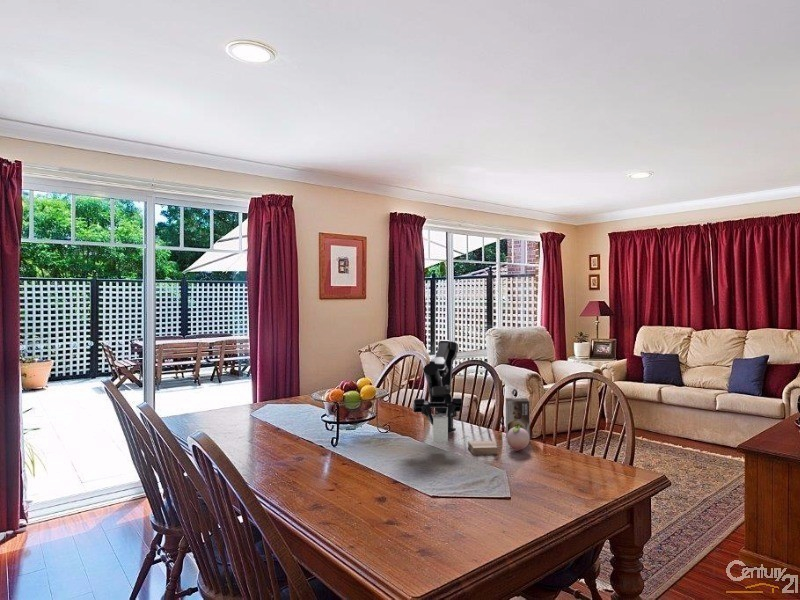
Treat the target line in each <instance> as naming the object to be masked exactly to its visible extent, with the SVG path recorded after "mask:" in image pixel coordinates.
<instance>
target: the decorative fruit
mask: <svg viewBox="0 0 800 600" xmlns="http://www.w3.org/2000/svg"><path fill="white" fill-rule="evenodd" d="M506 439H507V444H508V445H509V446H510V448H511V449H513V450H514V451H516V452H519V451H522V450H523V449H525V448H526V447H527V446H528V445H529V443H530V440H529V434H528V432H527V431H526V430H525V429H523V428H521V427H520V426H518V425H517V426H515V427H514V428H511V429H510V430H509V431H508V434H507V437H506Z"/></svg>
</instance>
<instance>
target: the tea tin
mask: <svg viewBox="0 0 800 600" xmlns="http://www.w3.org/2000/svg"><path fill="white" fill-rule="evenodd" d="M432 418H433V425H432V424H431V442H432V443H433V444H434V443H437V444H438V443H439V444H441V443H442V444H443V443H449V432H448V416H447V415H435V414H432Z"/></svg>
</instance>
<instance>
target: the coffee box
mask: <svg viewBox="0 0 800 600" xmlns="http://www.w3.org/2000/svg"><path fill="white" fill-rule="evenodd" d="M517 425H518V426H520V427H521V428H523V429H525V430H526V431H527V432H528V434H529V441H531V439H530V438H531V437H530V436H531V435H530V434H531V433H530V432H531V430H530V401H529V399H528V398H525V397H507V398H506V397H505V437H506V438H507V434H508V431H509V430H510V429H511V428H514V427H515V426H517Z"/></svg>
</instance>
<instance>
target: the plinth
mask: <svg viewBox="0 0 800 600" xmlns="http://www.w3.org/2000/svg"><path fill="white" fill-rule="evenodd" d="M467 447H468V449H469V451H470V452H471V454H472V455H474V456H475V455H476V456H477V455H498V446H497V445H496V444H495V443H494V442H493V441H492V440H469V441H467Z"/></svg>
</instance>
